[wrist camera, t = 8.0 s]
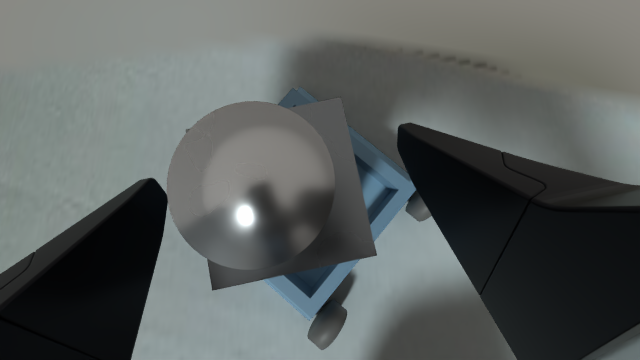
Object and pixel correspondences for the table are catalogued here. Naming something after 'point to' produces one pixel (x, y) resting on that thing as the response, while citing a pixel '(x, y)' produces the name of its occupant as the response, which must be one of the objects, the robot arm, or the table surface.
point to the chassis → (382, 205)
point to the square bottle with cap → (269, 191)
